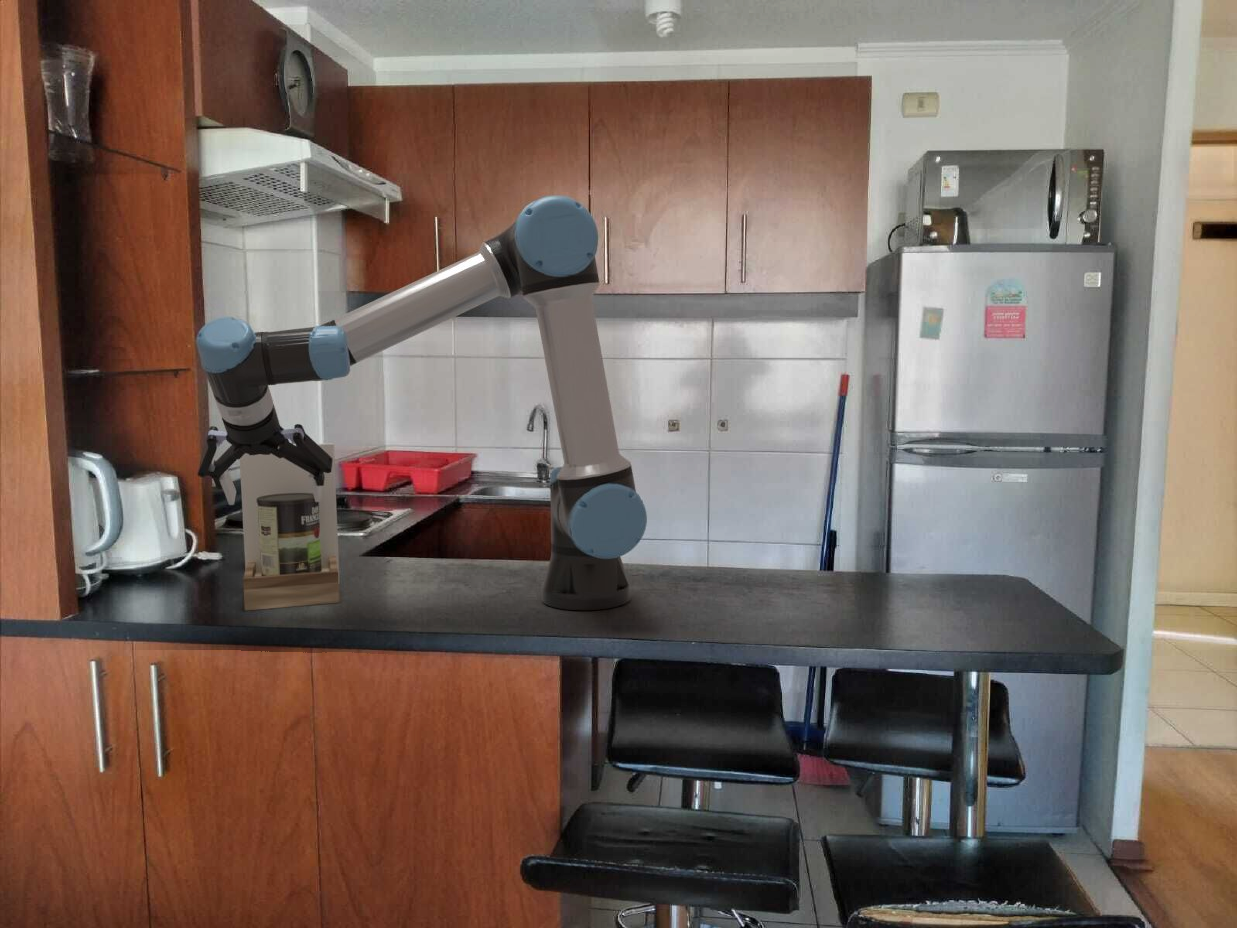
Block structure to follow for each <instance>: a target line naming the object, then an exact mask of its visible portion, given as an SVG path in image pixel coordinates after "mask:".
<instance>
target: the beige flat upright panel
mask: <svg viewBox="0 0 1237 928" xmlns="http://www.w3.org/2000/svg"><path fill="white" fill-rule="evenodd" d="M317 444H318V445H319V446H320V447H321V448H322V449H323V450H324V451H325V452H326V453H327V454H328V455H329V456H330V457H331V458H332V459H333V461H332V470H331V472H330V473H325V472H324V476H325V480H324V485H323V486H321V489H322V490H321V498H320V502H319V518H320V519H319V520H320V542H321V563H322V567H328V566H329V557H333V556H336V562H337V568H338V581H339V585H340V567H339V566H340V563H339V562H340V561H339V560H340V559H339V538H338V536H339V535H338V513H337V490H336V489H337V488H336V487H337V486H336V467H335V466H336V465H335V464H336V463H335V462H336V461H335V445H334V443H333V442H331V443H329V442H328V443H317ZM294 445H295V446H296V444H294ZM278 449H279V447H278ZM239 468H240V469H239V471H240V487H241V510H242V528H243V530H242V531H243V549H244V566H245V567H244V569H245V571H246V568H247V564H248V562H255V566H256V572H259V571H261V558H260V537H259V521H258V503H257V500H256V499H257V498H258V497H261V496H266V495H273V494H284V493H313V491H312V488H311V484H310V480H309V472H307V471H305V470H304V469H302V468H300V467H298V466H297V465H295V464H293V463H292V462H290V461H288V460H286V459H285V458H278V457H276V456H275V455H273V454H271V453H270V455H262V454H258V455H249V454H247V453H245V454H244V455H243V456H242V457H241V458H240V459H239ZM245 571H244V572H245Z"/></svg>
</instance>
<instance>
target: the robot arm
mask: <svg viewBox="0 0 1237 928" xmlns="http://www.w3.org/2000/svg"><path fill="white" fill-rule="evenodd" d="M598 232H599V231H598V227H597V223H596V221H595V219H594V217H593V216H592V214H591V213H590V211H589V210H588V209H587V208H586V207H585V206H584V205H583V204H581V203H580V202H578V201H577V200H575V199H573V198H571V197H568V196H564V195H548V196H547V195H546V196H543V197H542V198H539V199H535V200H534V201H532V202H530V203H529V204H527V205H526V206H525V207H524V208H523V209H522V210H521V212H520V213H519V215H518V217H517V219H516V220H515V221H514V222H513V223H512V224H511V225H510V226H509V227H508V228H506V229H505V230H504V231H502V232H501V233H499V234H497V235H496V236H494V237H492V238H491V239H488V240H486V241H484V242H482V243H481V245H480V247H479V251H478V252H475V253H473V254H471V255H469V256H467V257H465V258H463V259H460V260H459V261H457V262H454V263H452V264H450V265H448V266H446V267H444V268H441V269H440V270H437V271H435V272H433V273H431V274H429V275H427V276H424V277H422V278H419V279H418V280H416V281H414V282H412V283H409V284H407V285H405V286H403V287H401V288H399V289H396V290H394V291H391V292H390V293H387V294H385V295H384V296H382V297H379V298H377V299H375V300H373V301H371V302H368V303H366V304H364V305H362V306H360V307H358V308H356V309H353V310H352V311H349V312H347V313H345V314H343V315H340V316H339V317H336V318H335V319H332V320H330V321H328V322H325V323H322V324H321V325H316V326H312V327H303V328H295V329H294V328H293V329H284V330H283V329H282V330H277V331H256V332H254V330H253V329H252V327H251V325H250V324H249V323H248V322H246V321H245V320H243V319H240V318H238V319H237V318H234V317H233V316H225V317H218V318H215V319H213V320H211V321H209V322H208V323H206V324H204V325H202V327H201V329H200V330H199V331H198V333H197V335H196V339H195V343H196V347H197V350H198V354H199V357H200V365H201V367H202V369H203V371H204V373H205V376H206V378H207V380H208V383H209V386H210V388H211V390H212V391H211V392H212V394H213V397H214V401H215V403H216V406H217V409H218V412H219V415H220V416H221V420H222V423H223V425H224V428H225V430H219V428H218V427H217V426H214V425H212V426H210V427H209V429H208V434H207V438H206V443H207V445H206V447H205V449H204V452H203V455H202V458H201V460H200V462H199V467H198V471H197V476H198V477H200V478H205V477H206V476H208V477H210V478H211V479H213V482H214V485H215V487H216V489H217V490H222V491H223V493H224V494H225V498H226V500H227V503H228V505H229V506H233V505H234V506H235V501H236V496H237V488H236V487H235V485H234V481H233V478H232V476H231V473H230V471H229V468H230V467H231V466H232V465H234V464H235V462H236V461H237V460H239V461H240V458H241V457H242V456H243V455H244V454H245V453H247V454H249V455H258V454H262V455H270V453H271V454H273V455H275V456H276V457H278V458H285V459H286V460H288V461H290V462H292V463H293V464H295V465H297V466H298V467H300V468H302V469H304V470H305V471H307V472H309V480H310V484H311V488H312V491H313V495H314V499H315V502H320V498H321V490H322V489H321V486H323V485H324V480H325V476H324V472H325V473H330V472H331V470H332V461H333V459H332V458H331V457H330V456H329V455H328V454H327V453H326V452H325V451H324V450H323V449H322V448H321V447H320V446H319V445H318V444H319V443H317V442H316V441H314V440H313V439H312V438H311V437H310V436H309V434H307V433H306V431H305V429H304V426H303V425H302V424H300V423H297V424H295V425H294V426H293V428H288V429H287V428H286V429H284V428H283V427H282V426H281V424H280V420H279V417H278V413H277V410H276V407H275V403H274V400H273V396H272V393H271V390H270V387H269V386H276V385H282V384H284V385H285V384H294V383H305V382H322V381H331V380H333V379H339V378H345V377H347V376H348V375H349V374H350V372H351V367H352V366H353V365H356V364H357V363H360V362H362V361H364V360H366V359H369V358H370V357H372V356H374V355H376V354H379V353H381V352H383V351H385V350H388V349H389V348H391V347H394V346H396V345H398V344H401V343H402V342H404V341H406V340H408V339H410V338H412V337H415V336H418V335H419V334H421V333H423V332H426V331H428V330H429V329H432V328H434V327H435V326H438V325H440V324H442V323H445V322H446V321H447V322H448V321H449V320H451V319H453V318H455V317H457V316H459V315H462V314H463V313H466V312H468V311H470V310H472V309H474V308H476V307H479V306H480V305H483V304H485V303H486V302H490V301H491V300H493V299H496V298H497V297H498V298H499V297H503V298H506V299H510V298H513V297H514V296H516V295H517V296H518V295H519V294H521V293H522V299H523V300H525V301H526V302H528V303H529V304H531V305H532V306H533V307H534V309H535V312H536V318H537V323H538V328H539V334H540V339H541V340H540V341H541V344H542V349H543V356H544V360H545V362H544V363H545V367H546V372H547V376H548V383H549V387H550V392H551V393H550V394H551V399H552V403H553V410H554V414H555V419H556V427H557V431H558V437H559V443H560V447H561V453H562V459H563V465H562V466H557V467H555V468H553V469H552V470H551V472H550V476H549V477H550V480H549V483H548V488H549V489H550V491H549V492H550V542H551V543H550V544H551V545H550V546H551V549H550V550H551V552H550V553H551V555H550V560H549V563H548V566H547V569H546V572H545V576H544V579H543V583H542V586H541V602H542V603H543V604H544V605H547V606H548V607H550V608H551V607H553V608H556V609H560V610H570V611H572V610H573V611H594V610H605V609H607V610H608V609H611V608H616V607H620V606H623V605H625V604H627V603H629V602H630V600H631V584H630V582H629V579H628V576H627V572H626V570H625V566H624V563H623V560H622V558H621V557H622V556H625V555H626V554H628V553H629V552H631V551H632V550H633V549H634V548H636V546H637V545H638V544H639V543H640V542H641V540H642V539H643V536H644V534H645V531H646V527H647V524H648V515H647V514H648V513H647V510H646V506H645V504H644V501H643V499H641V496H640V495H639V494H638V493H637V491H636V484H635V479H634V473H633V467H632V463H631V461H630V460H628V459H627V458H626V457H624V456H623V455H622V454H621V453H620V451H619V446H618V439H617V434H616V428H615V427H616V426H615V422H614V416H613V410H612V405H611V400H610V393H609V387H608V383H607V382H608V381H607V376H606V371H605V364H604V360H603V354H602V349H601V348H602V347H601V344H600V343H601V342H600V337H599V331H598V327H597V325H598V324H597V321H596V314H595V307H594V303H593V296H594V294H595V293H596V292H597V290H598V288H599V287H600V285H601V284H600V278H599V272H598V271H599V270H598V266H597V260H596V254H597V252H598V247H599V233H598ZM224 441H226V442H227V443H228V444H230V446H229V447H228V448H227V449H226V450H225V451H224V452H223V453H222V454H221V456H220V457H218V459H216V460H215V459H214V457H215V456H216V452H217V448H218V447H220V445H222V444H223V442H224ZM295 445H296V446H295ZM278 447H279V449H278ZM213 459H214V460H213ZM212 462H213V464H212Z"/></svg>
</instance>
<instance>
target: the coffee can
mask: <svg viewBox="0 0 1237 928" xmlns="http://www.w3.org/2000/svg"><path fill="white" fill-rule="evenodd" d="M256 500H257V503H258V521H259V537H260V558H261V576H271V575H284V574H297V573H311V572H322V563H321V542H320V520H319V519H320V518H319V502H315V499H314V495H313V493H284V494H273V495H266V496H261V497H258V498H257V499H256Z"/></svg>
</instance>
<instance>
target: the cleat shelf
mask: <svg viewBox="0 0 1237 928" xmlns="http://www.w3.org/2000/svg"><path fill="white" fill-rule="evenodd" d="M242 580H243V581H242V583H243V586H242V587H243V603H244V611H255V610H267V609H278V608H290V607H302V606H303V607H304V606H313V605H325V604H336V603H337V604H338V603H340V587H339V586H340V584H339V582H340V580H339V581H338V568H337V562H336V556H333V557H329V566H328V567H322V572H311V573H297V574H284V575H271V576H261V571H259V572H256V566H255V562H248V564H247V568H246V571H244V574H243V578H242Z"/></svg>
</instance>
